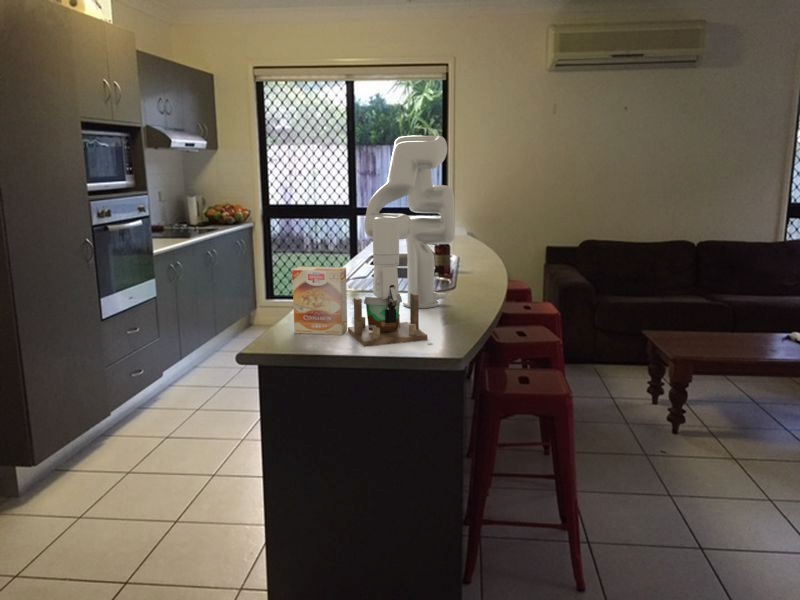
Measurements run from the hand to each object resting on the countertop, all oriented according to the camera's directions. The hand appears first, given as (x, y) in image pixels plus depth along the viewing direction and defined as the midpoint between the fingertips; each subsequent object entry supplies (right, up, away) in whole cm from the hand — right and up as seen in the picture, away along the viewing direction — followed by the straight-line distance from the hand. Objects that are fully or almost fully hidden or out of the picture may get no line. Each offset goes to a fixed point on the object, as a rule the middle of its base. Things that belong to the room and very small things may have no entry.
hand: (386, 319), depth 195 cm
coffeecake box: (-20, -4, +6) cm, 21 cm away
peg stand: (0, -5, +1) cm, 5 cm away
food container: (0, -3, 0) cm, 3 cm away
